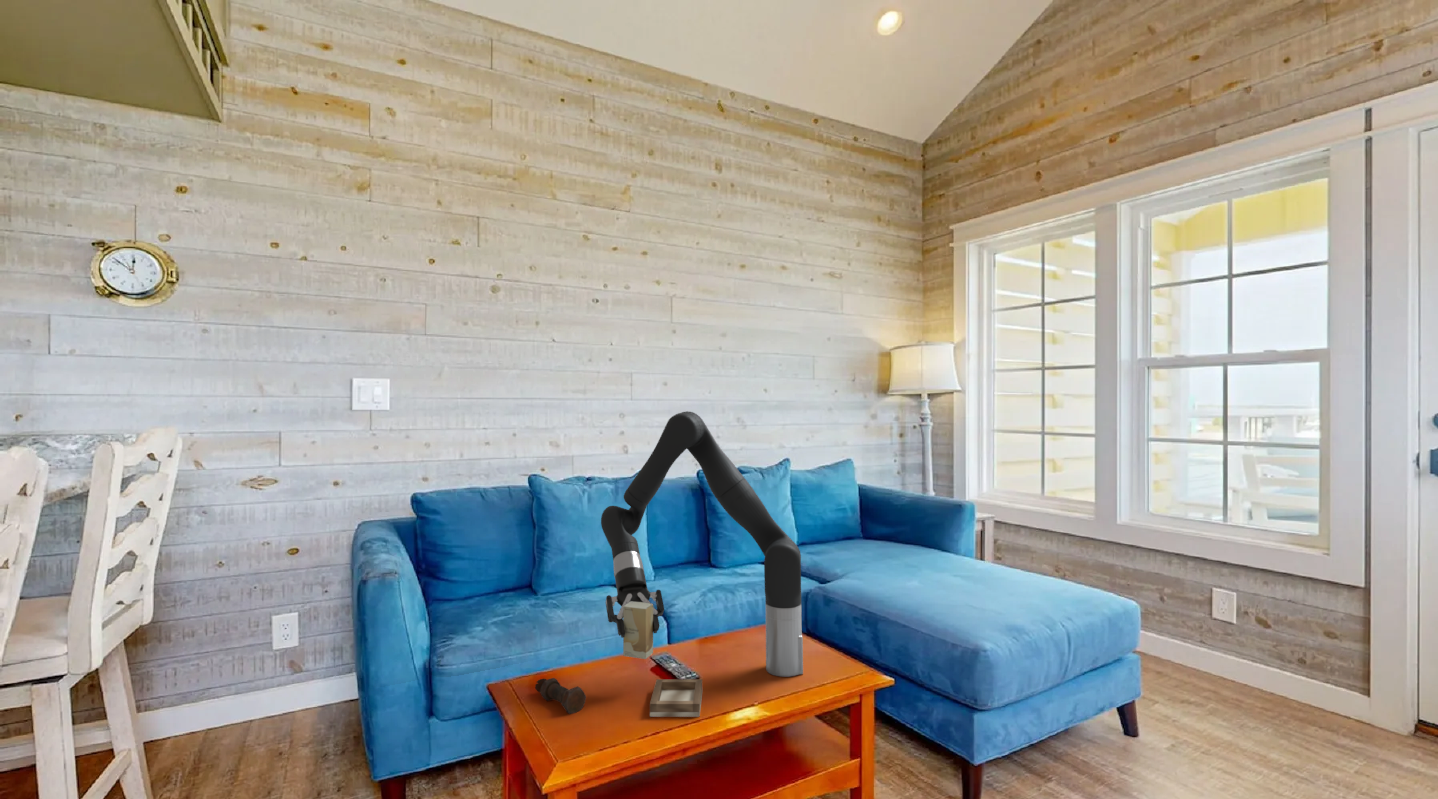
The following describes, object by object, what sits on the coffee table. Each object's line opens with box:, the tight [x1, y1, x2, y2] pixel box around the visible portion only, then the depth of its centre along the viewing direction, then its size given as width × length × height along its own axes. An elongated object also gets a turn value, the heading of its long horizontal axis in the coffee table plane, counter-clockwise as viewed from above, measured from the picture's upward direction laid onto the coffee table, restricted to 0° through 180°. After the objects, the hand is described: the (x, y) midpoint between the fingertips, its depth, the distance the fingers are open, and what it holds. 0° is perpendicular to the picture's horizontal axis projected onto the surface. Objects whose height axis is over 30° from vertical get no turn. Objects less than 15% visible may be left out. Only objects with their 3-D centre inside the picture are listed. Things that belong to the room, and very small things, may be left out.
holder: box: [649, 678, 703, 718], centre depth 152 cm, size 11×13×3 cm
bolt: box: [534, 677, 587, 715], centre depth 153 cm, size 6×5×15 cm
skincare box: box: [622, 601, 654, 660], centre depth 160 cm, size 6×4×12 cm
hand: (639, 633), depth 158 cm, fingers closed on skincare box, 7 cm apart
